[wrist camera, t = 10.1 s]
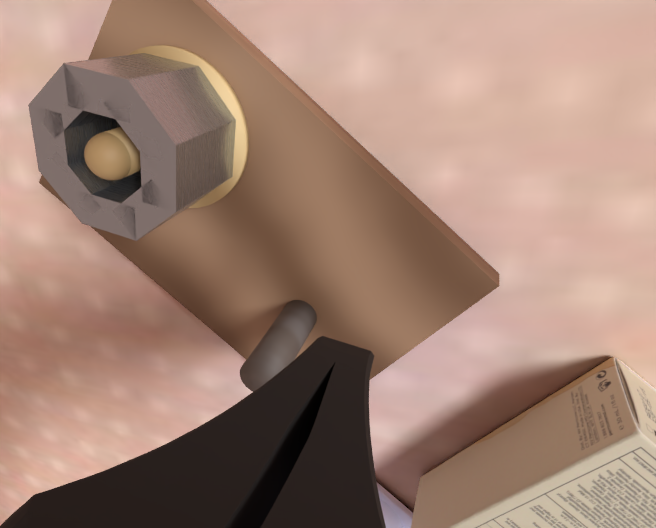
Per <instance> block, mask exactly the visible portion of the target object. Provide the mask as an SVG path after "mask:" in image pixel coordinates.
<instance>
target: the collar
mask: <svg viewBox="0 0 656 528" xmlns="http://www.w3.org/2000/svg"><path fill="white" fill-rule="evenodd" d="M29 111H30V117H31V124H32V130H33V137H34V143H35V149H36V156H37V162H38V168H39V171H40V172H41V174H42V175H43V176H44V177H45V179H46V180H47V181H48V182H49V184H50V185H51V186H52V187H53V188H54V190H55V191H56V192H57V193H58V195H59V196H60V197H61V198H62V199H63V201H64V202H65V203H66V204H67V206H68V207H69V208H70V209H71V210H72V212H73V213H74V214H75V215H76V217H77V218H78V219H79V220H80V221H81V223H83V224H86V225H89V226H92V227H95V228H98V229H101V230H104V231H107V232H111V233H114V234H117V235H120V236H123V237H126V238H129V239H132V240H136V241H137V240H139V239H140V238H142V237H143V236H145V235H146V234H148V233H150V232H151V231H153V230H154V229H156V228H157V227H159V226H160V225H162V224H164V223H165V222H167V221H168V220H170V219H171V218H173V217H174V216H176V215H178V214H179V213H181V212H182V211H184V210H185V209H187V208H189V207H190V206H192V205H193V204H195V203H196V202H197V201H199V200H200V199H202V198H203V197H204V196H206V195H207V194H209V193H210V192H211V191H213V190H214V189H216V188H217V187H218V186H220V185H221V184H223V183H224V182H225V181H227V180H228V179H230V178H231V177H233V160H234V144H235V128H236V119H235V118H234V116H233V115H232V113H231V112H230V110H229V109H228V108H227V106H226V105H225V103H224V102H223V100H222V99H221V97H220V96H219V94H218V93H217V92H216V90H215V89H214V87H213V86H212V84H211V83H210V81H209V80H208V78H207V77H206V75H205V74H204V73H203V71H202V70H201V68H200V67H199V66H197V65H193V64H188V63H184V62H180V61H176V60H172V59H167V58H163V57H159V56H155V55H151V54H146V53H141V54H133V55H125V56H117V57H109V58H101V59H94V60H86V61H78V62H70V63H63V65H62V66H61V67H60V68H59V70H58V71H57V72H56V73H55V74H54V75H53V77H52V78H51V79H50V80H49V81H48V83H47V84H46V85H45V86H44V87H43V88H42V90H41V91H40V92H39V93H38V94H37V96H36V97H35V98H34V99H33V100H32V101H31V103H30V104H29ZM118 127H122V129H123V130H124V131H125V133H126V134H127V135H128V137H129V138H130V139H131V141H132V142H133V143H134V145H135V146H136V147H137V149H138V150H139V151H140V164H141V170H140V171H138V172H136V173H133V174H131V175H129V176H127V177H125V178H122V179H119V180H106V179H102V178H100V177H98V176H97V175H95V174H94V173H93V172H92V171H91V170H90V169H89V168H88V166H87V164H86V162H85V158H84V150H85V146H86V144H87V142H88V141H89V140H90V139H91V138H92V137H93V136H95V135H96V134H99V133H102V132H105V131H108V130H111V129H115V128H118Z"/></svg>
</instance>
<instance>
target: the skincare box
mask: <svg viewBox="0 0 656 528" xmlns="http://www.w3.org/2000/svg"><path fill="white" fill-rule="evenodd" d="M411 528H656V389H655V388H654V387H653V386H652V385H650V384H649V383H648V382H647V381H645V380H644V379H643V378H642V377H640V376H639V375H638V374H636V373H635V372H634V371H633V370H631V369H630V368H629V367H628V366H627V365H626V364H624V363H623V362H622V361H620V360H618V359H617V358H615V357H612V358H610V359H608V360H606V361H605V362H603V363H602V364H600V365H599V366H597V367H595V368H594V369H592V370H591V371H589V372H587V373H586V374H584V375H583V376H581V377H579V378H578V379H576V380H575V381H573V382H571V383H570V384H568V385H566V386H565V387H563V388H562V389H560V390H559V391H557V392H555V393H554V394H552V395H550V396H549V397H547V398H546V399H544V400H543V401H541V402H539V403H538V404H536V405H535V406H533V407H531V408H530V409H528V410H527V411H525V412H523V413H522V414H520V415H519V416H517V417H515V418H514V419H512V420H511V421H509V422H507V423H506V424H504V425H502V426H501V427H499V428H498V429H496V430H494V431H493V432H491V433H490V434H488V435H487V436H485V437H483V438H482V439H480V440H478V441H477V442H475V443H474V444H472V445H471V446H469V447H468V448H466V449H464V450H463V451H461V452H460V453H458V454H456V455H455V456H453V457H452V458H450V459H448V460H447V461H445V462H444V463H442V464H441V465H439V466H438V467H436V468H434V469H433V470H431V471H429V472H428V473H426V474H425V475H423V476H422V477H420V480H419V485H418V490H417V495H416V500H415V506H414V512H413V517H412V524H411Z"/></svg>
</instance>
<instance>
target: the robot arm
mask: <svg viewBox="0 0 656 528" xmlns="http://www.w3.org/2000/svg"><path fill="white" fill-rule="evenodd" d="M373 360H374V355H373V353H372V352H371V351H370V350H367V349H364V348H360V347H357V346H354V345H351V344H348V343H344V342H341V341H338V340H335V339H331V338H328V337H325V336H321V337H319V338H317V339H316V340H315V341H314V342H313V343H312V344H311V345H310V346H309V347H308V348H307V349H306V350H305V351H304V352H303V353H302V354H300V355H299V356H298V357H297V358H296V359H295V360H294V361H292V362H291V363H290V364H289V365H288V366H287V367H285V368H284V369H283V370H282V371H280V372H279V373H278V374H277V375H275V376H274V377H273V378H272V379H270V380H269V381H268V382H266V383H265V384H264V385H262V386H261V387H260V388H258V389H257V390H256V391H254V392H253V393H251V394H250V395H248V396H247V397H246V398H244V399H243V400H241V401H240V402H238V403H237V404H236V405H234V406H233V407H231V408H229V409H228V410H226V411H225V412H223V413H222V414H220V415H218V416H217V417H215V418H213V419H212V420H210V421H208V422H206V423H205V424H203V425H201V426H200V427H198V428H196V429H194V430H192V431H190V432H188V433H186V434H185V435H183V436H181V437H179V438H177V439H175V440H173V441H171V442H169V443H167V444H165V445H163V446H161V447H159V448H157V449H155V450H152V451H150V452H148V453H146V454H143V455H141V456H138V457H136V458H134V459H131V460H129V461H127V462H124V463H122V464H120V465H117V466H115V467H113V468H110V469H108V470H105V471H103V472H100V473H97V474H95V475H92V476H89V477H86V478H83V479H80V480H77V481H74V482H72V483H69V484H66V485H63V486H60V487H57V488H54V489H51V490H48V491H45V492H42V493H38V494H35V495H33V496H32V497H31V498H30V499H29V500H28V501H27V502H26V503H25V504H24V505H22V506H21V507H20V508H19V509H18V510H16V511H15V512H14V513H13V514H12V515H11V516H10V517H9V518H8V519H7V520H6V521H5V522H4V523H3V524H2V525H1V526H0V528H411V524H412V517H413V512H411V511H410V510H409V509H408V508H407V507H406V506H404V505H403V504H402V503H401V502H400V501H398V500H397V499H396V498H395V497H394V496H393V495H391V494H390V493H389V492H388V491H387V490H386V489H384V488H383V487H382V486H381V485H380V484H378V483H377V482H376V476H375V470H374V463H373V456H372V447H371V437H370V425H369V380H370V372H371V368H372V364H373Z"/></svg>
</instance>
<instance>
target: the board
mask: <svg viewBox="0 0 656 528" xmlns="http://www.w3.org/2000/svg"><path fill="white" fill-rule="evenodd" d="M141 53H146V54H151V55H155V56H159V57H163V58H167V59H172V60H176V61H180V62H184V63H188V64H193V65H197V66H199V67H200V68H201V70H202V71H203V73H204V74H205V75H206V77H207V78H208V80H209V81H210V83H211V84H212V86H213V87H214V89H215V90H216V92H217V93H218V94H219V96H220V97H221V99H222V100H223V102H224V103H225V105H226V106H227V108H228V109H229V110H230V112H231V113H232V115H233V116H234V118H235V119H236V128H235V144H234V160H233V177H231V178H230V179H228V180H227V181H225V182H224V183H223V184H221V185H220V186H218V187H217V188H216V189H214V190H213V191H211V192H210V193H209V194H207V195H206V196H204V197H203V198H202V199H200V200H199V201H197V202H196V203H195V204H193V205H192V206H190V207H189V208H187V209H185V210H184V211H182V212H181V213H179V214H178V215H176V216H174V217H173V218H171V219H170V220H168V221H167V222H165V223H164V224H162V225H160V226H159V227H157V228H156V229H154V230H153V231H151V232H150V233H148V234H146V235H145V236H143V237H142V238H140V239H139V240H137V241H136V240H132V239H129V238H126V237H123V236H120V235H117V234H114V233H111V232H107V231H104V230H101V229H98V228H95V227H92V226H91V227H92V228H93V229H94V230H95V231H97V232H98V233H99V234H100V235H101V236H102V237H104V238H105V239H106V240H107V241H108V242H109V243H111V244H112V245H113V246H114V247H115V248H116V249H118V250H119V251H120V252H121V253H122V254H124V255H125V256H126V257H127V258H128V259H129V260H131V261H132V262H133V263H134V264H135V265H136V266H138V267H139V268H140V269H141V270H142V271H143V272H145V273H146V274H147V275H148V276H149V277H150V278H152V279H153V280H154V281H155V282H156V283H157V284H159V285H160V286H161V287H162V288H163V289H165V290H166V291H167V292H168V293H169V294H170V295H172V296H173V297H174V298H175V299H176V300H177V301H179V302H180V303H181V304H182V305H183V306H184V307H186V308H187V309H188V310H189V311H190V312H191V313H193V314H194V315H195V316H196V317H197V318H198V319H200V320H201V321H202V322H203V323H204V324H206V325H207V326H208V327H209V328H210V329H211V330H213V331H214V332H215V333H216V334H217V335H218V336H220V337H221V338H222V339H223V340H224V341H225V342H227V343H228V344H229V345H230V346H231V347H232V348H234V349H235V350H236V351H237V352H238V353H239V354H241V355H242V356H243V357H244V358H245V359H247V360H246V361H245V363H244V364H243V366H242V367H241V369H240V377H241V380H242V382H243V383H244V384H245V386H246V387H247V388H248V389H250V390H251V391H253V392H254V391H256V390H257V389H258V388H260V387H261V386H262V385H264V384H265V383H266V382H268V381H269V380H270V379H272V378H273V377H274V376H275V375H277V374H278V373H279V372H280V371H282V370H283V369H284V368H285V367H287V366H288V365H289V364H290V363H291V362H292V361H294V360H295V359H296V358H297V357H298V356H299V355H300V354H302V353H303V352H304V351H305V350H306V349H307V348H308V347H309V346H310V345H311V344H312V343H313V342H314V341H315V340H316V339H317V338H319V337H321V336H325V337H328V338H331V339H335V340H338V341H341V342H344V343H348V344H351V345H354V346H357V347H360V348H364V349H367V350H370V351H371V352H372V353H373V355H374V360H373V364H372V368H371V372H370V379H372V378H373V377H374V376H376V375H377V374H378V373H380V372H381V371H383V370H384V369H385V368H387V367H388V366H389V365H391V364H392V363H394V362H395V361H396V360H398V359H399V358H400V357H402V356H403V355H405V354H406V353H407V352H409V351H410V350H412V349H413V348H414V347H416V346H417V345H418V344H420V343H421V342H423V341H424V340H425V339H427V338H428V337H429V336H431V335H432V334H434V333H435V332H436V331H438V330H439V329H440V328H442V327H443V326H445V325H446V324H447V323H449V322H450V321H452V320H453V319H454V318H456V317H457V316H458V315H460V314H461V313H463V312H464V311H465V310H467V309H468V308H469V307H471V306H472V305H474V304H475V303H476V302H478V301H479V300H480V299H482V298H483V297H485V296H486V295H487V294H489V293H490V292H492V291H493V290H494V289H496V288H497V287H498V286H499V273H498V272H497V271H496V270H494V269H493V268H492V267H491V266H490V265H489V264H488V263H487V262H486V261H485V260H484V259H483V258H482V257H481V256H479V255H478V254H477V253H476V252H475V251H474V250H473V249H472V248H471V247H470V246H469V245H468V244H467V243H466V242H464V241H463V240H462V239H461V238H460V237H459V236H458V235H457V234H456V233H455V232H454V231H453V230H452V229H451V228H449V227H448V226H447V225H446V224H445V223H444V222H443V221H442V220H441V219H440V218H439V217H438V216H437V215H436V214H434V213H433V212H432V211H431V210H430V209H429V208H428V207H427V206H426V205H425V204H424V203H423V202H422V201H421V200H419V199H418V198H417V197H416V196H415V195H414V194H413V193H412V192H411V191H410V190H409V189H408V188H407V187H406V186H404V185H403V184H402V183H401V182H400V181H399V180H398V179H397V178H396V177H395V176H394V175H393V174H392V173H391V172H389V171H388V170H387V169H386V168H385V167H384V166H383V165H382V164H381V163H380V162H379V161H378V160H377V159H376V158H374V157H373V156H372V155H371V154H370V153H369V152H368V151H367V150H366V149H365V148H364V147H363V146H362V145H361V144H359V143H358V142H357V141H356V140H355V139H354V138H353V137H352V136H351V135H350V134H349V133H348V132H347V131H346V130H344V129H343V128H342V127H341V126H340V125H339V124H338V123H337V122H336V121H335V120H334V119H333V118H332V117H331V116H329V115H328V114H327V113H326V112H325V111H324V110H323V109H322V108H321V107H320V106H319V105H318V104H317V103H316V102H314V101H313V100H312V99H311V98H310V97H309V96H308V95H307V94H306V93H305V92H304V91H303V90H302V89H301V88H299V87H298V86H297V85H296V84H295V83H294V82H293V81H292V80H291V79H290V78H289V77H288V76H287V75H286V74H284V73H283V72H282V71H281V70H280V69H279V68H278V67H277V66H276V65H275V64H274V63H273V62H272V61H271V60H269V59H268V58H267V57H266V56H265V55H264V54H263V53H262V52H261V51H260V50H259V49H258V48H257V47H256V46H254V45H253V44H252V43H251V42H250V41H249V40H248V39H247V38H246V37H245V36H244V35H243V34H242V33H241V32H239V31H238V30H237V29H236V28H235V27H234V26H233V25H232V24H231V23H230V22H229V21H228V20H227V19H225V18H224V17H223V16H222V15H221V14H220V13H219V12H218V11H217V10H216V9H215V8H214V7H213V6H212V5H210V4H209V3H208V2H207V1H206V0H112V2H111V5H110V7H109V10H108V12H107V15H106V17H105V20H104V22H103V25H102V27H101V30H100V32H99V35H98V37H97V40H96V42H95V45H94V47H93V50H92V52H91V55H90V57H89V60H94V59H101V58H109V57H117V56H125V55H133V54H141ZM84 158H85V162H86V164H87V166H88V168H89V169H90V170H91V171H92V172H93V173H94V174H95V175H97V176H98V177H100V178H102V179H106V180H119V179H122V178H125V177H127V176H129V175H131V174H133V173H136V172H138V171H140V170H141V164H140V151H139V150H138V149H137V147H136V146H135V145H134V143H133V142H132V141H131V139H130V138H129V137H128V135H127V134H126V133H125V131H124V130H123V129H122V127H118V128H115V129H111V130H108V131H105V132H102V133H99V134H96V135H95V136H93V137H92V138H91V139H90V140H89V141H88V142H87V144H86V146H85V150H84ZM39 183H40V184H42V185H43V186H44V187H45V188H46V189H47V190H49V191H50V192H51V193H52V194H53V195H54V196H56V197H57V198H58V199H59V200H60V201H61V202H63V203H64V204H65V205H66V206H67V204H66V203H65V202H64V201H63V199H62V198H61V197H60V196H59V195H58V193H57V192H56V191H55V190H54V188H53V187H52V186H51V185H50V184H49V182H48V181H47V180H46V179H45V177H44V176H43V175H42V176H41V179H40V181H39ZM67 207H68V206H67ZM68 208H69V207H68Z"/></svg>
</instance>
